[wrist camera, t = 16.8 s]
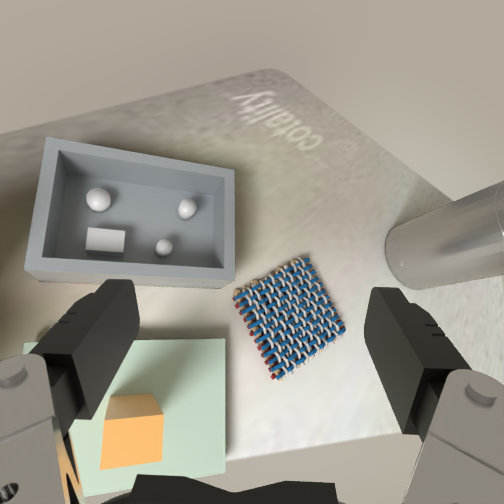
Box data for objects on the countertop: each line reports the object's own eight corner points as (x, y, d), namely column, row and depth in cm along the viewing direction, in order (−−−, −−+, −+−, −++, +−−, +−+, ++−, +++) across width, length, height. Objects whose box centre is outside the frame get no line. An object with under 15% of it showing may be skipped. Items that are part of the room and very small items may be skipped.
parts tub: (220, 191, 36) (234, 169, 32) (219, 288, 33) (235, 280, 29) (57, 166, 31) (46, 136, 26) (39, 281, 28) (23, 269, 23)
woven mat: (342, 333, 38) (354, 332, 36) (271, 384, 33) (280, 386, 32) (301, 254, 39) (309, 249, 37) (225, 294, 34) (231, 291, 32)
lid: (218, 338, 32) (262, 336, 22) (218, 464, 29) (268, 526, 19) (31, 342, 27) (-24, 341, 17) (7, 497, 24) (-76, 610, 14)
